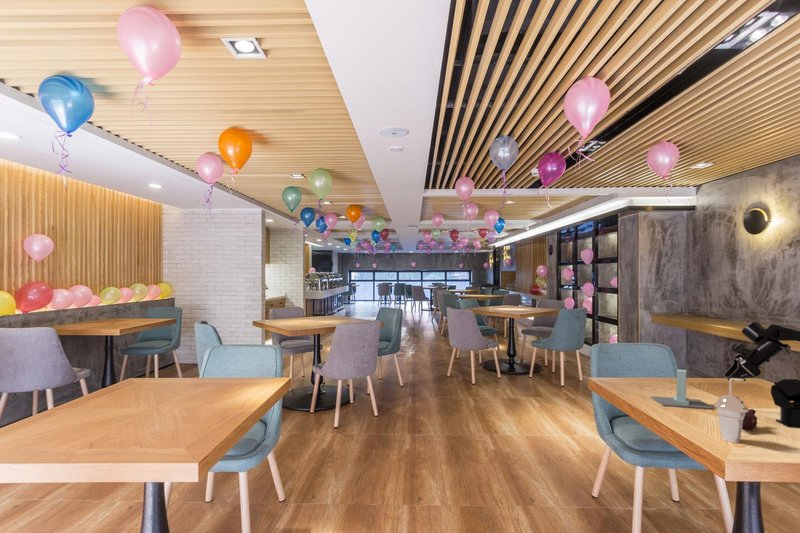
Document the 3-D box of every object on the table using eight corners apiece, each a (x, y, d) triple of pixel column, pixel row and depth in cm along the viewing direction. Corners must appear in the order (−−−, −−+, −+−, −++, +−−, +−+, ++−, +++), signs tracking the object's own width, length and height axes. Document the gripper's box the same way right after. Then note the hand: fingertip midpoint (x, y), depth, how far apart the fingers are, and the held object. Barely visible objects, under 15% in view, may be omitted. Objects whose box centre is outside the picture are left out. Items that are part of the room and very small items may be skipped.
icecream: (752, 416, 135) (768, 413, 143) (726, 405, 141) (742, 402, 149) (745, 436, 136) (761, 432, 144) (719, 424, 142) (735, 420, 150)
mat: (714, 409, 163) (714, 408, 163) (663, 405, 166) (663, 404, 166) (698, 400, 175) (698, 399, 175) (651, 397, 178) (651, 396, 178)
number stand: (689, 401, 172) (689, 370, 172) (688, 405, 166) (688, 373, 167) (674, 398, 175) (674, 368, 175) (673, 402, 169) (673, 371, 169)
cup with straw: (743, 437, 134) (743, 373, 134) (753, 447, 125) (753, 379, 126) (710, 433, 137) (711, 370, 138) (718, 442, 129) (718, 376, 130)
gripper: (740, 332, 167) (706, 357, 173) (748, 337, 151) (710, 365, 157) (766, 354, 163) (730, 379, 168) (777, 362, 147) (737, 389, 152)
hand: (726, 377), depth 162 cm, fingers open, 9 cm apart
